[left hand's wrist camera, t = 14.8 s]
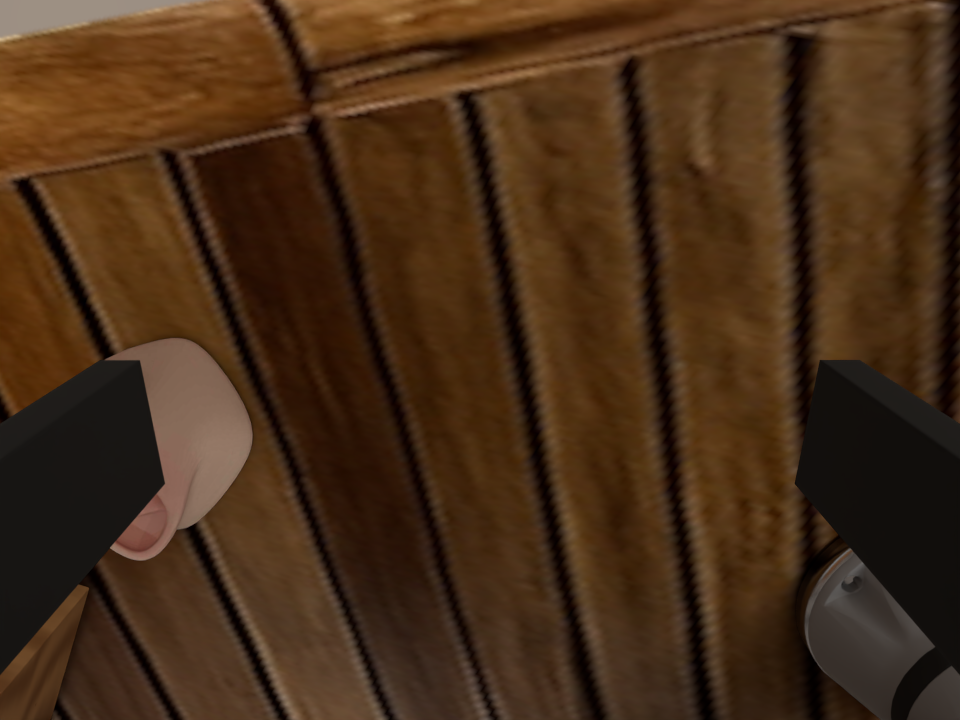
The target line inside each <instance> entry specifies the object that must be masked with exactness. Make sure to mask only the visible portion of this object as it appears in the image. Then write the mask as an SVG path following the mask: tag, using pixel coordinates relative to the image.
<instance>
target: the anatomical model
mask: <svg viewBox="0 0 960 720" xmlns="http://www.w3.org/2000/svg"><path fill="white" fill-rule="evenodd" d="M105 360H140V363H141V368H142V372H143V377H144V382H145V387H146V392H147V397H148V402H149V407H150V412H151V417H152V421H153V426H154V431H155V436H156V441H157V446H158V451H159V456H160V461H161V466H162V470H163V475H164V480H165V485H164V486H163V487H162V488H161V489H160V490H159V492H158V493H157V494H156V495H155V496H154V497H153V498H152V500H151V501H150V502H149V503H148V504H147V505H146V507H145V508H144V509H143V510H142V511H141V512H140V514H139V515H138V516H137V517H136V518H135V519H134V521H133V522H132V523H131V524H130V525H129V526H128V528H127V529H126V530H125V531H124V532H123V533H122V534H121V536H120V537H119V538H118V539H117V540H116V541H115V543H114V544H113V545H112V546H111V547H110V548H111V549H112V550H114V551H115V552H117V553H119V554H121V555H123V556H125V557H127V558H130V559H133V560H147V559H150V558H153V557H154V556H156V555H157V554H159V553H160V552H161V551H162V550H163V549H164V548H165V547H166V546H167V544H168V543H169V541H170V540H171V538H172V537H173V535H174V533H175V532H176V530H177V529H183V528H187V527H189V526H191V525H193V524H195V523H196V522H198V521H199V520H200V519H201V518H202V517H204V516H205V515H206V514H207V513H208V512H209V511H210V510H211V509H212V507H213V506H214V505H215V504H216V503H217V502H218V501H219V500H220V498H221V497H222V496H223V494H224V493H225V492H226V491H227V489H228V488H229V487H230V485H231V484H232V483H233V481H234V480H235V478H236V477H237V475H238V474H239V472H240V471H241V469H242V467H243V465H244V463H245V462H246V460H247V458H248V455H249V453H250V450H251V446H252V436H253V433H252V426H251V422H250V419H249V416H248V413H247V411H246V408H245V406H244V404H243V402H242V400H241V398H240V396H239V394H238V393H237V391H236V389H235V388H234V386H233V385H232V383H231V382H230V380H229V379H228V377H227V376H226V375H225V373H224V372H223V371H222V369H221V368H220V367H219V365H218V364H217V363H216V362H215V361H214V360H213V358H212V357H211V356H210V355H209V354H208V353H207V352H206V351H205V350H204V349H203V348H201V347H200V346H199V345H197V344H196V343H194V342H192V341H190V340H187V339H183V338H169V339H163V340H157V341H154V342H150V343H146V344H142V345H139V346H135V347H132V348H129V349H126V350H124V351H122V352H120V353H118V354H116V355H113V356H111V357H109V358H107V359H105Z"/></svg>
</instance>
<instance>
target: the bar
mask: <svg viewBox="0 0 960 720" xmlns="http://www.w3.org/2000/svg"><path fill="white" fill-rule="evenodd" d="M88 591H89V588H88V587H85V586H82V585H79V584H78V586H77V587H76V588H75V589H74V590H73V591H72V592H71V594H70V595H69V596H68V597H67V598H66V599H65V601H64V602H63V603H62V604H61V605H60V606H59V608H58V609H57V610H56V611H55V612H54V613H53V615H52V616H51V617H50V618H49V619H48V620H47V622H46V623H45V624H44V625H43V626H42V627H41V628H40V630H39V631H38V632H37V633H36V634H35V635H34V637H33V638H32V639H31V640H30V641H29V642H28V644H27V645H26V646H25V647H24V648H23V649H22V651H21V652H20V653H19V654H18V655H17V656H16V657H15V659H14V660H13V661H12V662H11V663H10V664H9V666H8V667H7V668H6V669H5V670H4V671H3V673H2V674H1V675H0V720H51V717H52V714H53V711H54V707H55V704H56V700H57V697H58V693H59V690H60V687H61V683H62V680H63V676H64V673H65V670H66V666H67V663H68V659H69V656H70V652H71V649H72V646H73V642H74V639H75V635H76V632H77V628H78V625H79V622H80V618H81V615H82V611H83V608H84V605H85V601H86V598H87V594H88Z"/></svg>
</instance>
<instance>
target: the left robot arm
mask: <svg viewBox="0 0 960 720" xmlns="http://www.w3.org/2000/svg"><path fill="white" fill-rule="evenodd" d="M164 485H165V480H164V475H163V470H162V466H161V461H160V456H159V451H158V446H157V441H156V436H155V431H154V426H153V421H152V417H151V412H150V407H149V402H148V397H147V392H146V387H145V382H144V377H143V372H142V368H141V363H140V360H100V361H98V362H97V363H95V364H93V365H92V366H90V367H89V368H87V369H86V370H84V371H82V372H81V373H79V374H78V375H76V376H75V377H73V378H72V379H70V380H68V381H67V382H65V383H64V384H62V385H61V386H59V387H57V388H56V389H54V390H53V391H51V392H50V393H48V394H46V395H45V396H43V397H42V398H40V399H39V400H37V401H35V402H34V403H32V404H31V405H29V406H28V407H26V408H24V409H23V410H21V411H20V412H18V413H17V414H15V415H13V416H12V417H10V418H9V419H7V420H6V421H4V422H2V423H1V424H0V675H1V674H2V673H3V671H4V670H5V669H6V668H7V667H8V666H9V664H10V663H11V662H12V661H13V660H14V659H15V657H16V656H17V655H18V654H19V653H20V652H21V651H22V649H23V648H24V647H25V646H26V645H27V644H28V642H29V641H30V640H31V639H32V638H33V637H34V635H35V634H36V633H37V632H38V631H39V630H40V628H41V627H42V626H43V625H44V624H45V623H46V622H47V620H48V619H49V618H50V617H51V616H52V615H53V613H54V612H55V611H56V610H57V609H58V608H59V606H60V605H61V604H62V603H63V602H64V601H65V599H66V598H67V597H68V596H69V595H70V594H71V592H72V591H73V590H74V589H75V588H76V587H77V586H78V584H79V583H80V582H81V581H82V580H83V579H84V577H85V576H86V575H87V574H88V573H89V572H90V570H91V569H92V568H93V567H94V566H95V565H96V563H97V562H98V561H99V560H100V559H101V558H102V557H103V555H104V554H105V553H106V552H107V551H108V550H109V548H110V547H111V546H112V545H113V544H114V543H115V541H116V540H117V539H118V538H119V537H120V536H121V534H122V533H123V532H124V531H125V530H126V529H127V528H128V526H129V525H130V524H131V523H132V522H133V521H134V519H135V518H136V517H137V516H138V515H139V514H140V512H141V511H142V510H143V509H144V508H145V507H146V505H147V504H148V503H149V502H150V501H151V500H152V498H153V497H154V496H155V495H156V494H157V493H158V492H159V490H160V489H161V488H162V487H163V486H164ZM795 485H796V486H797V487H798V488H799V489H800V490H801V492H802V493H803V494H804V495H805V496H806V497H807V498H808V500H809V501H810V502H811V503H812V504H813V505H814V507H815V508H816V509H817V510H818V511H819V512H820V514H821V515H822V516H823V517H824V518H825V519H826V521H827V522H828V523H829V524H830V525H831V526H832V528H833V529H834V530H835V531H836V532H837V533H838V534H839V536H840V538H839V539H837V540H836V541H835V542H834V543H833V544H831V545H830V546H829V547H828V548H827V549H826V550H825V551H824V552H823V553H822V554H821V555H820V556H819V557H818V558H817V560H816V561H815V562H814V563H813V565H812V566H811V568H810V569H809V571H808V572H807V574H806V576H805V578H804V580H803V582H802V584H801V586H800V589H799V592H798V596H797V601H796V610H795V612H796V623H797V628H798V631H799V634H800V636H801V638H802V640H803V642H804V643H805V645H806V647H807V648H808V650H809V651H810V653H811V655H812V656H813V658H814V660H815V661H816V663H817V664H818V666H819V667H820V668H821V669H822V670H823V671H824V672H825V673H826V674H827V675H828V676H829V677H830V678H831V679H833V680H834V681H835V682H836V683H838V684H839V685H840V686H841V687H843V688H844V689H845V690H846V691H847V692H848V693H850V694H851V695H852V696H853V697H854V698H855V699H857V700H858V701H859V702H860V703H862V704H863V705H864V706H865V707H866V708H868V709H869V710H870V711H871V712H872V713H874V714H875V715H876V716H877V717H878V718H880V719H881V720H960V424H959V423H958V422H956V421H954V420H953V419H951V418H950V417H948V416H947V415H945V414H943V413H942V412H940V411H939V410H937V409H936V408H934V407H932V406H931V405H929V404H928V403H926V402H925V401H923V400H921V399H920V398H918V397H917V396H915V395H914V394H912V393H910V392H909V391H907V390H906V389H904V388H903V387H901V386H899V385H898V384H896V383H895V382H893V381H892V380H890V379H888V378H887V377H885V376H884V375H882V374H881V373H879V372H878V371H876V370H874V369H873V368H871V367H870V366H868V365H867V364H865V363H863V362H862V361H860V360H820V363H819V368H818V372H817V377H816V382H815V387H814V392H813V397H812V402H811V407H810V412H809V417H808V421H807V426H806V431H805V436H804V441H803V446H802V451H801V456H800V461H799V466H798V470H797V475H796V480H795Z"/></svg>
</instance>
